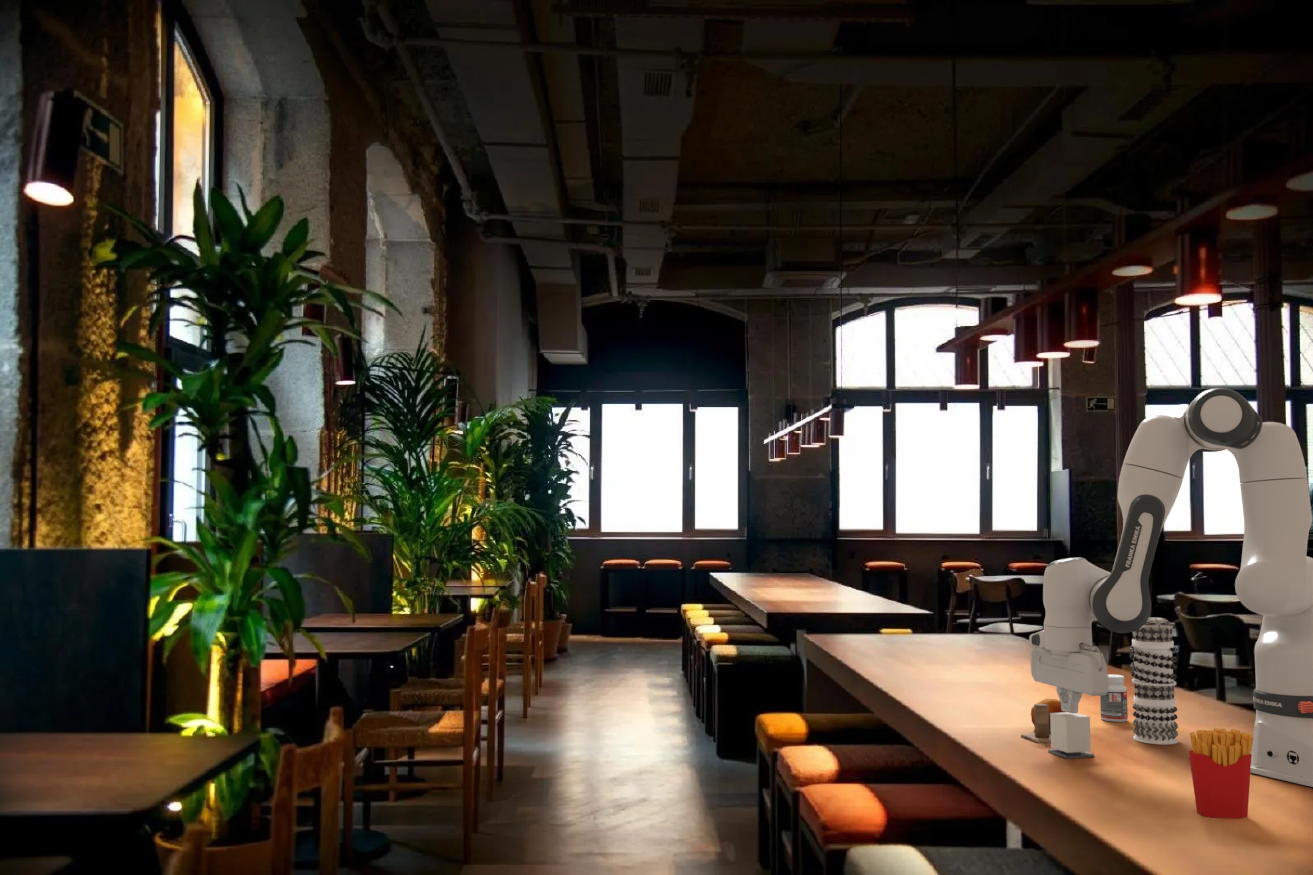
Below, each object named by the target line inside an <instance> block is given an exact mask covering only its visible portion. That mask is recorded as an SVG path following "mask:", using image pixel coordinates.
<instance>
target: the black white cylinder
mask: <svg viewBox="0 0 1313 875" xmlns="http://www.w3.org/2000/svg"><path fill="white" fill-rule="evenodd" d="M1173 628H1174V625H1172V624H1171V623H1170V622H1169V620H1168V619H1167V618H1165V617H1164V618H1163V617H1155V616H1154V617H1152V616H1151V617H1150V616H1149V618H1148V620H1147V622H1146V623H1145V624H1144V625H1143V626H1142V627H1141V628H1139V629H1138V630H1136V631H1133V632H1132V639H1131V645H1130V646H1129V647H1128V650H1129V652H1131V653H1130V654H1129V659H1130V660H1132V661H1133V662H1131V663H1130V665H1129V666H1130V669H1132V670H1131V671H1130V676H1131V677H1133V678H1132V679H1131V682H1132V683H1133V685H1134V686H1133V687H1134V688H1133V689H1134V690H1133V691H1134V695H1133V704H1132V709H1134V710H1135V711H1133V712H1132V716H1133V717H1135V719H1133V721H1132V725H1133V726H1134V728H1133V730H1132V732H1133V734H1134V735H1133V740H1134V741H1137V742H1139V743H1144V744H1152V745H1175V744H1178V743H1179V739H1178V738H1177V737H1178V736H1179V732H1178V728H1179V725H1178V723H1177V722H1176V720H1177V719H1178V715H1177V714H1175V713H1176V712H1177V711H1178V708H1177V705H1176V704H1177V703H1176V702H1177V701H1176V698H1175V686H1176V685H1177V681H1175V680H1176V679H1177V678H1178V675H1176V674H1174V671H1175V670H1176V669H1177V668H1178V666H1177V665H1176V664H1175V663H1176V662H1177V661H1178V657H1176V656H1174V655H1173V653H1176V652H1178V651H1179V650H1178V648H1177V647H1175V644H1174V643H1175V642H1174V640H1173Z"/></svg>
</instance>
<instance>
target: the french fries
mask: <svg viewBox="0 0 1313 875" xmlns="http://www.w3.org/2000/svg"><path fill="white" fill-rule="evenodd" d="M1195 732H1196V734H1195ZM1195 732H1194V731H1192V732H1189V736H1190V743H1191V747H1192V748H1191V750H1188V755H1189V757H1188V758H1189V764H1190V770H1191V778H1192V785H1193V786H1192V787H1193V792H1194V794H1193V795H1194V801H1195V807H1196V813H1197V814H1199V815H1200V816H1202V817H1208V818H1211V819H1212V818H1213V819H1214V818H1215V819H1216V818H1217V819H1245V818H1247V817H1248V814H1249V802H1250V801H1249V799H1250V798H1249V797H1250V782H1251V773H1250V771H1251V755H1252V754H1251V752H1252V743H1253V739H1254V738H1253V734H1249V733H1248V732H1241V731H1240V730H1236V729H1235V728H1231V729H1230V730H1229V731H1227V729H1226V728H1217V727H1214V728H1213V730H1206V729H1205V730H1203V729H1197V730H1196V731H1195Z"/></svg>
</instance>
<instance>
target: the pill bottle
mask: <svg viewBox="0 0 1313 875" xmlns="http://www.w3.org/2000/svg"><path fill="white" fill-rule="evenodd" d="M1108 681H1109V691H1108V693H1107V695H1104V696H1099V697H1100V698H1099V701H1100V702H1099V706H1100V719H1101V721H1102V720H1103V721H1106V722H1111V723H1112V722H1113V723H1124V722H1127V721H1128V720H1129V715H1128V714H1129V712H1128V690H1127V687H1126V686H1125V685H1124V683H1125V676H1124V675H1121V674H1110V673H1109V674H1108Z"/></svg>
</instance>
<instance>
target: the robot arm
mask: <svg viewBox="0 0 1313 875" xmlns="http://www.w3.org/2000/svg"><path fill="white" fill-rule="evenodd" d="M1127 448H1128V449H1127V451H1126V452H1125V457H1124V459H1123V462H1122V466H1121V469H1120V474H1119V477H1118V484H1117V502H1118V505H1119V508H1120V511H1121V515H1122V523H1123V524H1122V532H1121V536H1120V541H1119V544H1118V547H1117V552H1116V556H1115V558H1114V564H1113V566H1112V569H1111V572H1110V571H1107V570H1105V569H1103V568H1100V567H1098V566H1096V565H1095V564H1093V563H1091V562H1089V561H1088V560H1087V559H1086V558H1084V557H1067V558H1066V557H1065V558H1060V559H1058V560H1054V561H1052V562H1050V563H1049V564H1047V566H1046V568H1045V570H1044V573H1043V582H1042V583H1043V584H1042V585H1043V586H1042V587H1043V588H1042V602H1043V606H1044V609H1045V610H1044V611H1045V614H1044V615H1045V617H1044V621H1043V630H1040V631H1037V632H1035V633H1034V632H1033V633H1032V634H1030V635H1029V639H1028V640H1029V644H1030V645H1031V646H1032V647H1031V648H1030V672H1031V676H1032V679H1033V680H1034V682H1037V683H1041V684H1044V685H1048V686H1053V687H1055V688H1056V694H1057V696H1058V700H1060V701H1061V710H1062V711H1065V712H1069V713H1079V703H1080V702H1081V701H1080V700H1081V699H1082V697H1083V694H1084V695H1087V696H1091V697H1100V696H1104V695H1107V693H1108V691H1109V681H1108V666H1107V662H1106V659H1105V657H1104V653H1103V652H1101V650H1100V648H1099V647H1098V646H1096V645H1093V633H1092V632H1093V631H1092V623H1093V622H1095V621H1096V622H1097V621H1098V622H1099V624H1100V625H1101V626H1102V627H1103V628H1105V629H1106V630H1109V631H1111V632H1114V633H1118V634H1129V633H1133V631H1136V630H1138V629H1139V628H1141V627H1142V626H1143V625H1144V624H1145V623H1146V622H1147V620H1148V618H1149V617H1150V616H1151V613H1152V612H1151V611H1152V600H1151V594H1150V589H1149V578H1150V574H1151V571H1152V570H1151V569H1152V565H1153V561H1154V558H1155V553H1156V550H1157V546H1158V542H1159V538H1160V536H1161V532H1162V531H1163V528H1164V525H1165V523H1166V522H1167V519H1168V517H1169V515H1170V513H1171V510H1172V509H1173V506H1174V505H1175V502H1176V500H1177V498H1178V495H1179V492H1180V490H1181V488H1182V487H1181V486H1182V483H1183V480H1184V478H1185V474H1186V470H1187V466H1188V464H1189V461H1190V459H1191V457H1192V456H1193V454H1194V453H1215V452H1221V451H1226V450H1227V451H1228V452H1230V453H1231V454H1232V455H1233V457H1234V459H1235V460H1236V464H1237V466H1238V475H1239V476H1238V478H1239V483H1240V485H1239V486H1240V492H1241V502H1242V512H1243V514H1242V515H1243V522H1244V523H1243V527H1244V529H1243V543H1242V549H1241V550H1242V551H1241V552H1242V553H1241V562H1240V570H1239V572H1238V574H1237V575H1236V578H1235V582H1234V588H1235V595H1236V596H1237V598H1238V600H1239V602H1240V603H1241V604H1242V605H1243V606H1244V607H1245V608H1246V609H1248V611H1250V612H1253V613H1256V614H1258V615H1261V616H1262V621H1261V625H1260V630H1259V635H1258V637H1257V641H1256V642H1255V644H1254V668H1255V669H1254V670H1255V688H1254V689H1253V696H1252V700H1253V708H1254V709H1255V712H1256V713H1255V720H1254V724H1253V731H1252V737H1253V738H1254V739H1253V743H1252V747H1251V752H1250V754H1252V755H1251V771H1250V774H1255V775H1260V776H1264V777H1268V778H1272V779H1277V780H1281V781H1286V782H1290V783H1294V784H1298V785H1302V786H1307V787H1312V788H1313V557H1310V556H1307V554H1308V553H1307V552H1308V541H1309V534H1310V533H1309V532H1310V529H1311V526H1312V523H1313V514H1312V513H1313V512H1312V506H1311V497H1310V489H1309V482H1308V476H1307V475H1308V474H1307V468H1306V463H1305V458H1304V455H1303V450H1302V448H1301V444H1300V442H1299V439H1298V437H1297V434H1296V432H1295V430H1294V429H1293V428H1292V427H1291V426H1289V425H1286V424H1284V423H1282V422H1276V421H1264V422H1263V419H1262V417H1261V416H1260V415H1259V413H1258V412H1257V411H1256V410H1255V409H1254V408H1253V406H1252V404H1251V403H1249V401H1248V400H1247V399H1246V398H1245V397H1244V396H1243V395H1241V393H1239V392H1238V391H1235V390H1233V389H1230V388H1225V387H1215V388H1210V389H1207V390H1204V391H1202V392H1201V393H1199V394H1198V395H1197V396H1195V397H1194V399H1193V400H1192V401H1191V402H1190V404H1189V405H1188V407H1187V408H1186V410H1185V411H1184V413H1183V414H1181V415H1180V416H1173V417H1172V416H1168V415H1157V414H1156V415H1152V416H1149V417H1147V418H1144V419H1143V420H1142V421H1141V422H1140V423H1139V425H1138V426H1137V429H1136V431H1135V432H1134V434H1133V437H1132V439H1131V441H1130V443H1129V446H1128V447H1127Z"/></svg>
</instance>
